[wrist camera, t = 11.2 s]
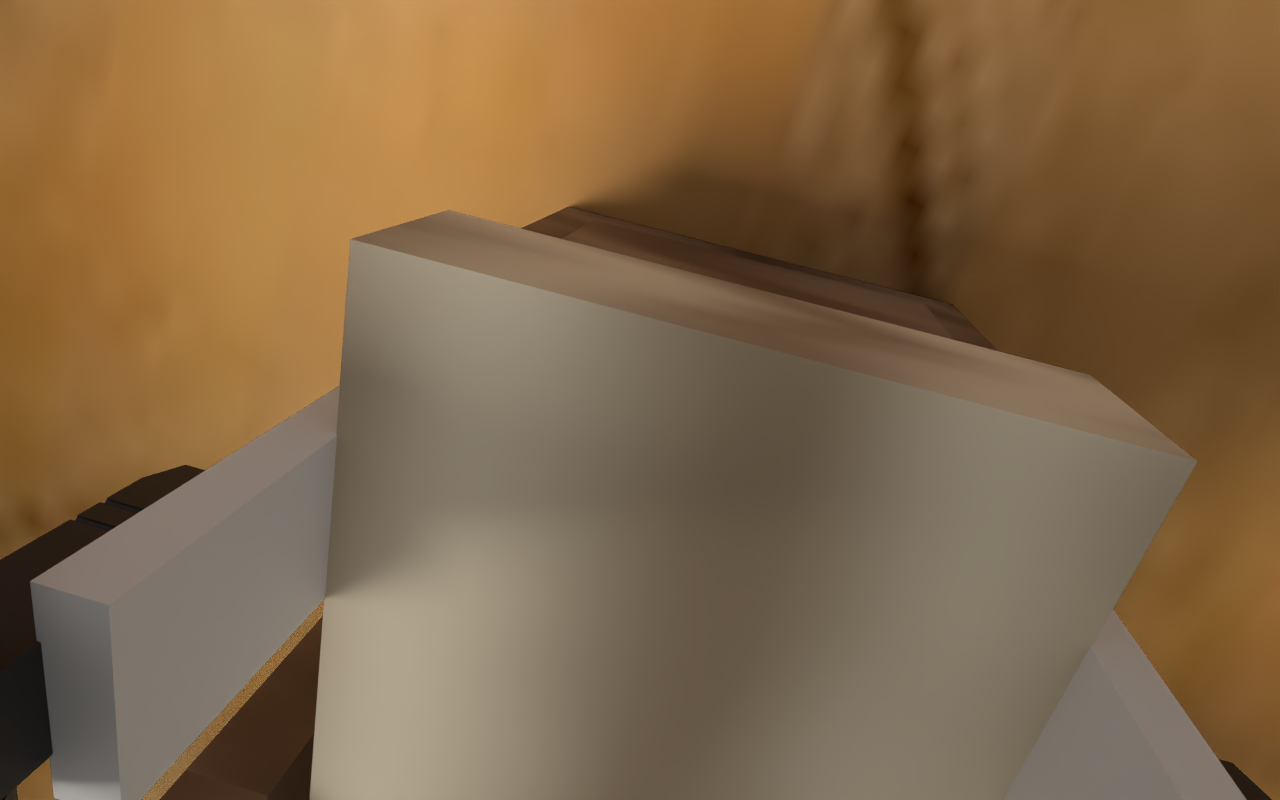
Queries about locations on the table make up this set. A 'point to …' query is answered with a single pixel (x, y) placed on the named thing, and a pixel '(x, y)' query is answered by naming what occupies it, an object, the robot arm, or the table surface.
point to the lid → (699, 536)
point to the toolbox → (286, 702)
